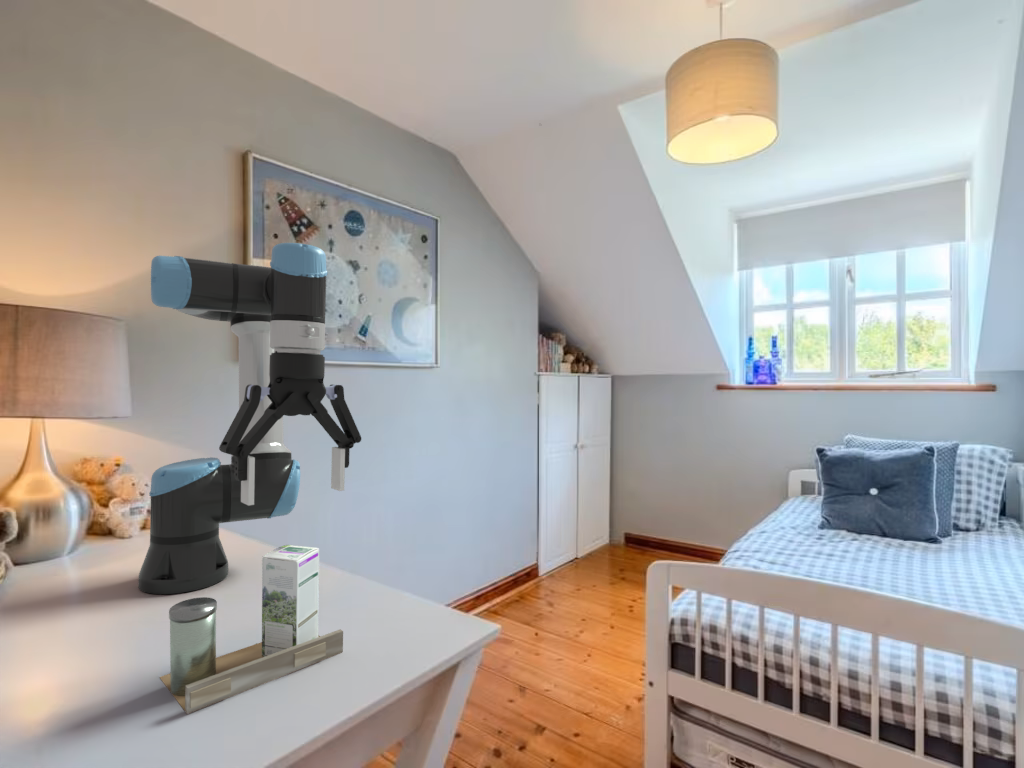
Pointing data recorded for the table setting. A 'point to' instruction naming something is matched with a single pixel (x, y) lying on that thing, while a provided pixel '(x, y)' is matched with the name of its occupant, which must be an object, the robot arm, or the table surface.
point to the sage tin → (192, 642)
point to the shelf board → (254, 670)
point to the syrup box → (289, 597)
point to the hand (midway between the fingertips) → (295, 496)
